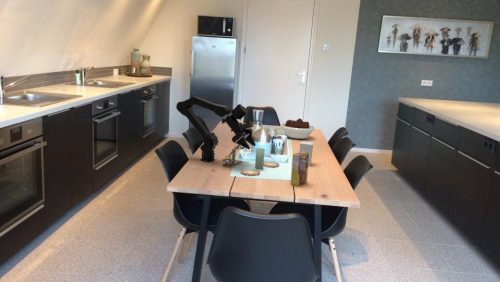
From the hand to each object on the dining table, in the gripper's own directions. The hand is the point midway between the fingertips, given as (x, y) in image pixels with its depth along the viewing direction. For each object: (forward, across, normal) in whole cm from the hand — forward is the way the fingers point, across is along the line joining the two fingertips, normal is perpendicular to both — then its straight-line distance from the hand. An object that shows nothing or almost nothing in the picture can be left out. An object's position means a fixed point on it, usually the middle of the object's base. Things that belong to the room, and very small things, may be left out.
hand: (252, 147), depth 225 cm
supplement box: (+26, +25, -9) cm, 37 cm away
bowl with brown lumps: (+9, +101, +7) cm, 102 cm away
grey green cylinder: (+11, 0, +5) cm, 12 cm away
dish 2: (+14, +11, +2) cm, 17 cm away
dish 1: (+10, -11, +6) cm, 16 cm away
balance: (0, +2, +16) cm, 16 cm away
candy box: (+30, -15, -13) cm, 36 cm away
